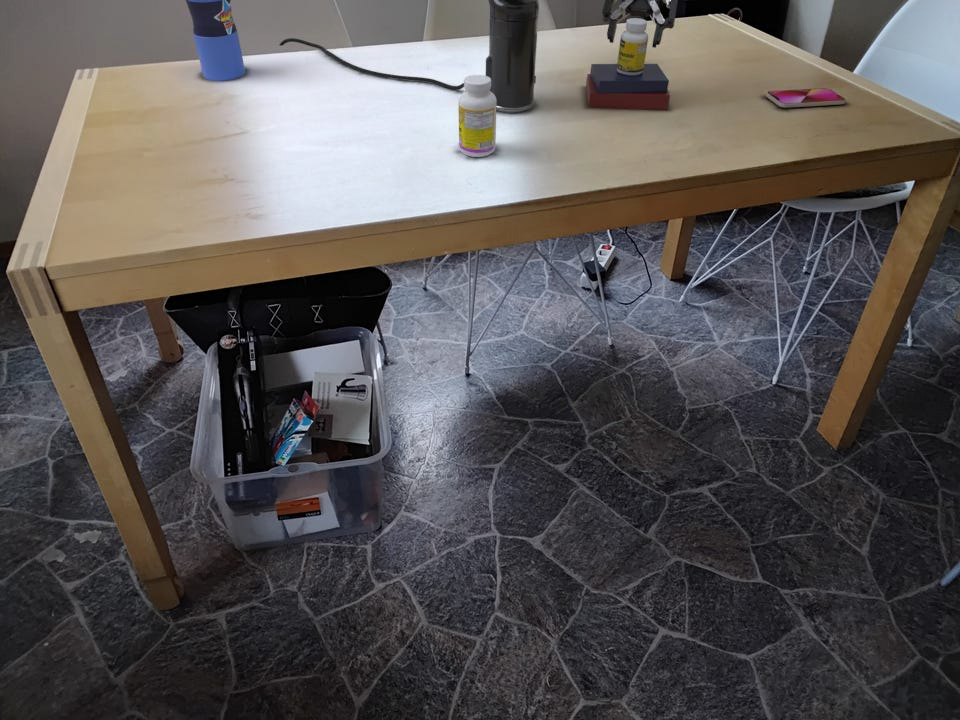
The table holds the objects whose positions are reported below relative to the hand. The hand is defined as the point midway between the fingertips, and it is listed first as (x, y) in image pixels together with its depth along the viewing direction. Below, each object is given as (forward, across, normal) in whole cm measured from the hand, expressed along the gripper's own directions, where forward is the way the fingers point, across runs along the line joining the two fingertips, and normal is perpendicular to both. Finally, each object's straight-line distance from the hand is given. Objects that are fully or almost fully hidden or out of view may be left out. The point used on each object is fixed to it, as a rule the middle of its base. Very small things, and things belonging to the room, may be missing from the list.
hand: (632, 43), depth 143 cm
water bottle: (+17, -87, 0) cm, 89 cm away
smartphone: (-1, +36, +17) cm, 40 cm away
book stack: (+7, 0, +9) cm, 12 cm away
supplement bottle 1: (+31, -22, -15) cm, 41 cm away
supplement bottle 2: (+3, 0, +6) cm, 6 cm away
